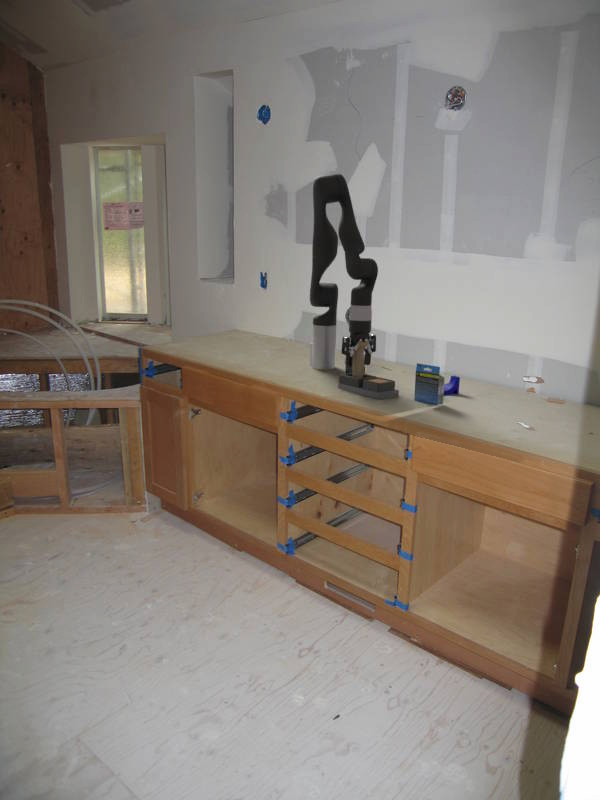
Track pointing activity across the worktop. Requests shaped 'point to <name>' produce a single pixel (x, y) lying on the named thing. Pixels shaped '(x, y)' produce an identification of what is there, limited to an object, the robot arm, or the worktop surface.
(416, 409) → the worktop surface
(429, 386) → the label tape box
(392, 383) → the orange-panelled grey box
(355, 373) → the handle
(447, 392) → the blue curved piece
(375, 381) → the button
